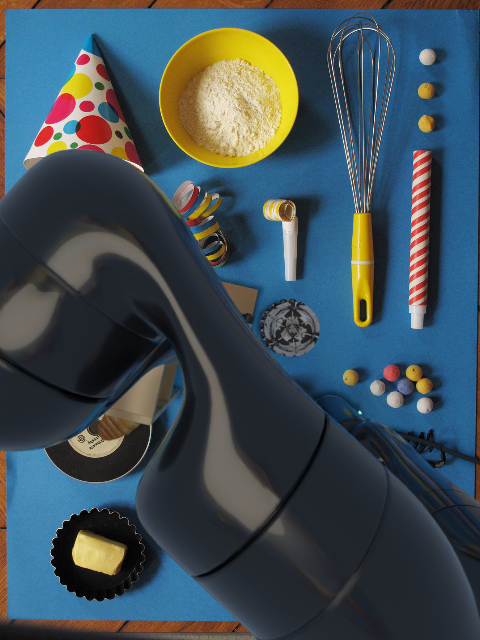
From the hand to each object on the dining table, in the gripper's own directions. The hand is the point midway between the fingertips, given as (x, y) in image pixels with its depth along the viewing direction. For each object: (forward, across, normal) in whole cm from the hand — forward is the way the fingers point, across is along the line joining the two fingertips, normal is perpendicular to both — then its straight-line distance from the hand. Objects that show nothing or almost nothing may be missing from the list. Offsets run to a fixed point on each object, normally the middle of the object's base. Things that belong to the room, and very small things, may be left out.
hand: (194, 314), depth 48 cm
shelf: (+37, -10, -10) cm, 40 cm away
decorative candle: (+37, +12, +1) cm, 39 cm away
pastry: (+37, -15, -25) cm, 47 cm away
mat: (+37, +1, +2) cm, 37 cm away
